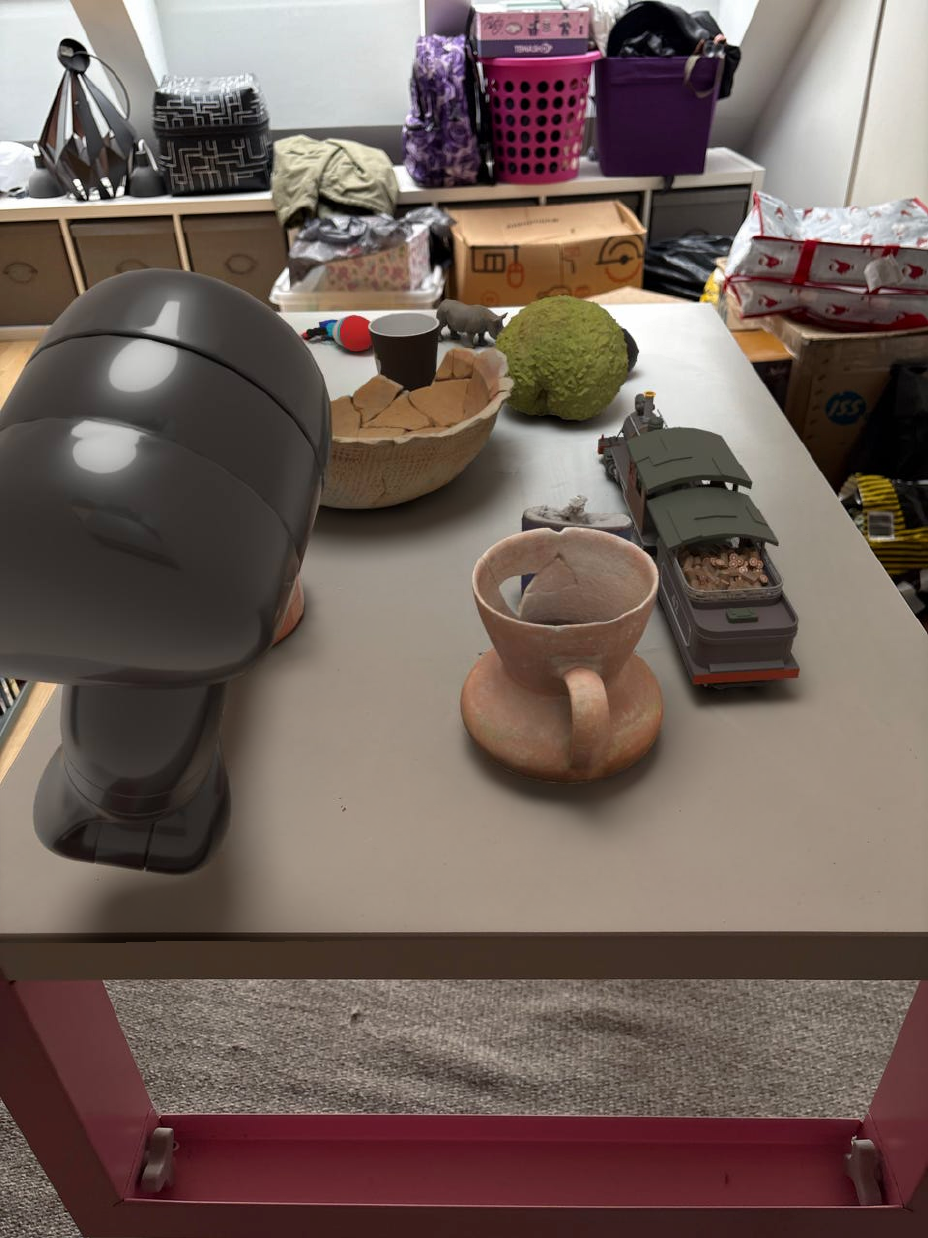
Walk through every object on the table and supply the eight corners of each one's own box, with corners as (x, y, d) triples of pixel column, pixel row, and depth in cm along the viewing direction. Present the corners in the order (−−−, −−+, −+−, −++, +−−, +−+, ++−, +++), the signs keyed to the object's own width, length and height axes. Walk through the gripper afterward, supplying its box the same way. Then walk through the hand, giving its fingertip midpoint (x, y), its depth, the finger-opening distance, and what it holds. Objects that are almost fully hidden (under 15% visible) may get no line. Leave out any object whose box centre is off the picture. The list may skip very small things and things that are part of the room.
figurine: (591, 324, 120) (573, 297, 136) (577, 377, 123) (561, 345, 139) (649, 337, 121) (624, 308, 137) (634, 388, 124) (611, 355, 140)
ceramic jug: (456, 668, 78) (448, 513, 69) (635, 657, 78) (648, 502, 70) (469, 839, 63) (461, 669, 55) (689, 825, 63) (714, 654, 55)
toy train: (587, 449, 109) (591, 354, 103) (665, 444, 109) (674, 350, 103) (683, 709, 73) (699, 587, 66) (800, 701, 73) (828, 579, 66)
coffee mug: (435, 417, 118) (431, 337, 112) (367, 414, 119) (359, 335, 114) (453, 381, 127) (450, 305, 121) (390, 379, 129) (383, 304, 123)
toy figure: (298, 348, 144) (351, 357, 133) (293, 314, 142) (347, 320, 131) (341, 340, 148) (396, 348, 137) (337, 307, 146) (392, 312, 135)
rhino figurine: (508, 358, 133) (507, 315, 130) (429, 341, 140) (426, 300, 136) (524, 349, 136) (524, 307, 132) (445, 333, 143) (444, 292, 139)
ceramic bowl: (312, 401, 118) (315, 282, 109) (522, 460, 114) (545, 341, 105) (184, 527, 96) (174, 390, 86) (439, 605, 92) (458, 471, 82)
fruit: (493, 442, 111) (461, 311, 109) (524, 436, 125) (497, 319, 122) (630, 407, 106) (600, 268, 103) (648, 404, 119) (621, 281, 117)
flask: (627, 601, 84) (635, 493, 78) (624, 621, 82) (632, 511, 76) (523, 592, 86) (522, 485, 80) (517, 611, 84) (516, 502, 78)
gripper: (278, 582, 66) (296, 472, 80) (67, 597, 66) (122, 483, 79) (294, 668, 70) (308, 549, 84) (95, 683, 70) (143, 560, 84)
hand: (217, 518), depth 82 cm, fingers closed on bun, 5 cm apart
